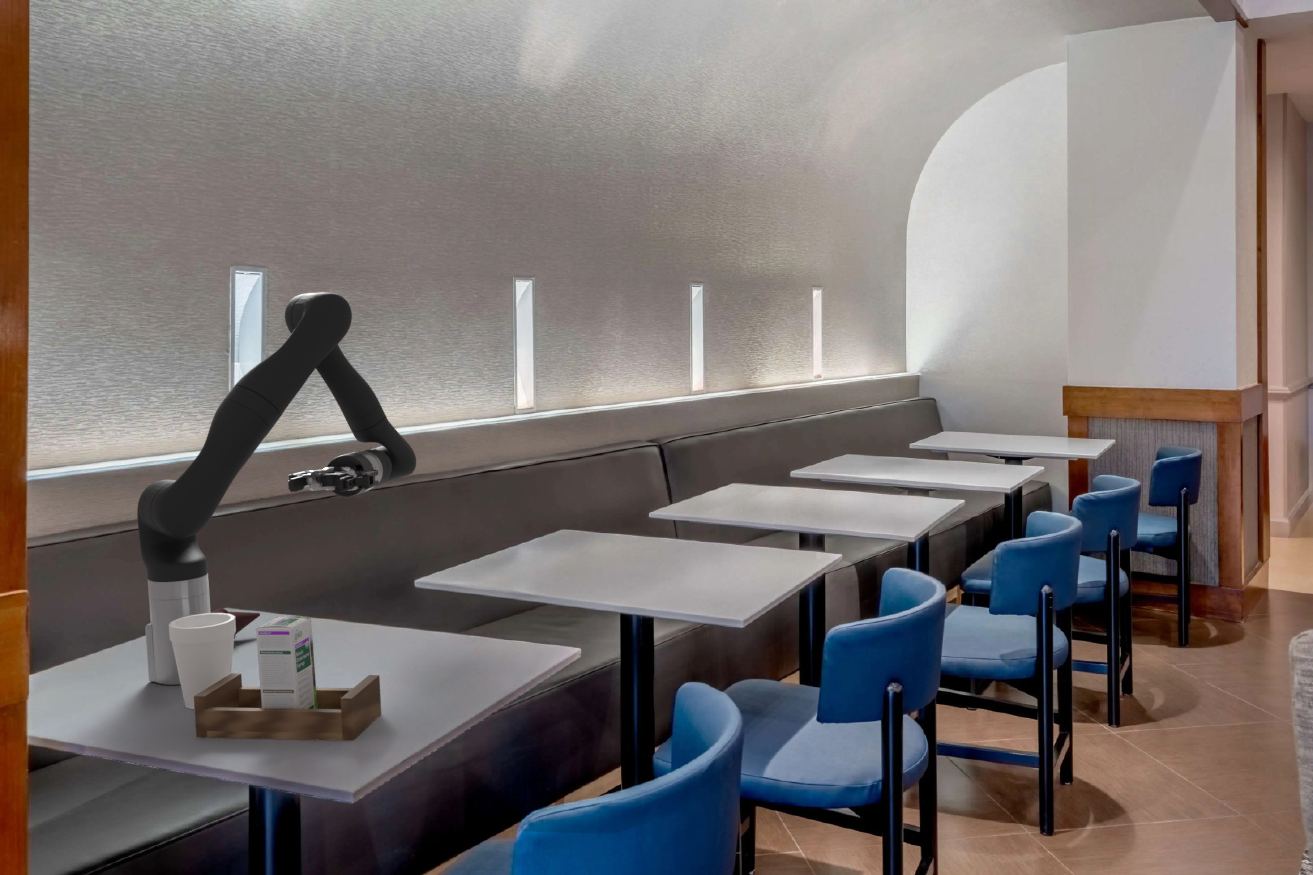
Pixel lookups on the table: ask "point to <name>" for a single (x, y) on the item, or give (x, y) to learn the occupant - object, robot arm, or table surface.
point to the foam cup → (202, 651)
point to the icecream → (240, 618)
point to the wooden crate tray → (285, 712)
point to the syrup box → (287, 663)
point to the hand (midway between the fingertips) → (316, 485)
